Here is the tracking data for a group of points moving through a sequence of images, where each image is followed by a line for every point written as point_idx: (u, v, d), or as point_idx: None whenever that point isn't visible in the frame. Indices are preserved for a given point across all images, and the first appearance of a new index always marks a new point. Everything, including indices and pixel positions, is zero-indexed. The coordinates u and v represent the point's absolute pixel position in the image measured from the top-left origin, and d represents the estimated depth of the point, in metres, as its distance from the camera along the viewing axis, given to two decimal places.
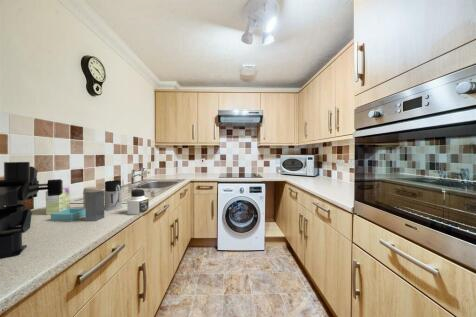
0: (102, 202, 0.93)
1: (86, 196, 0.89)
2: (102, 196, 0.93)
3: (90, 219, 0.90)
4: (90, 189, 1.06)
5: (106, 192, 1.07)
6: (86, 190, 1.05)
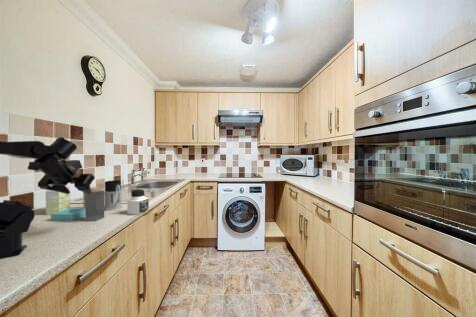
0: (102, 202, 0.93)
1: (86, 196, 0.89)
2: (102, 196, 0.93)
3: (90, 219, 0.90)
4: None
5: (106, 192, 1.07)
6: None
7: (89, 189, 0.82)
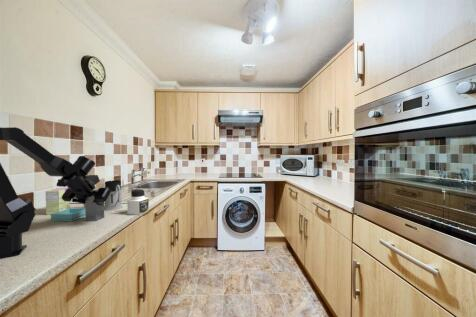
0: None
1: None
2: None
3: (90, 219, 0.90)
4: None
5: None
6: None
7: None
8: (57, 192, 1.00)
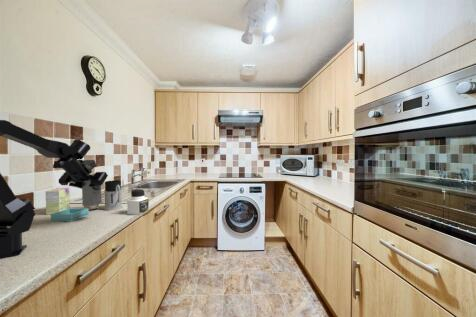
0: None
1: None
2: None
3: (87, 204, 0.90)
4: None
5: (106, 192, 1.07)
6: None
7: (99, 186, 0.92)
8: (57, 192, 1.00)
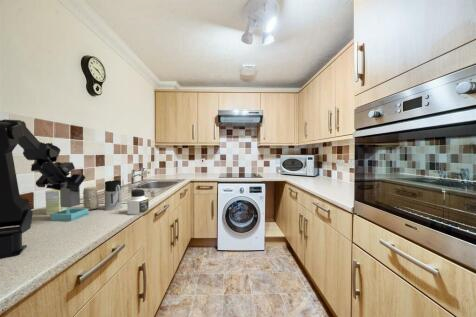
0: None
1: None
2: None
3: (65, 205, 0.92)
4: (90, 189, 1.06)
5: (106, 192, 1.07)
6: (86, 190, 1.05)
7: (77, 188, 0.94)
8: (57, 192, 1.00)
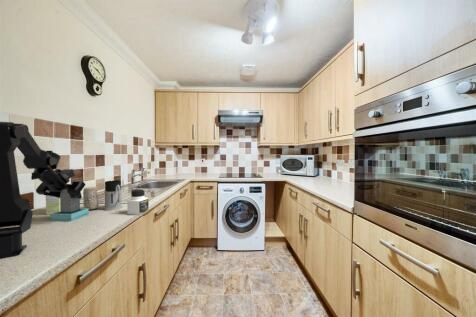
0: (77, 198, 0.95)
1: (61, 193, 0.92)
2: None
3: None
4: (90, 189, 1.06)
5: (106, 192, 1.07)
6: (86, 190, 1.05)
7: (80, 194, 0.94)
8: None
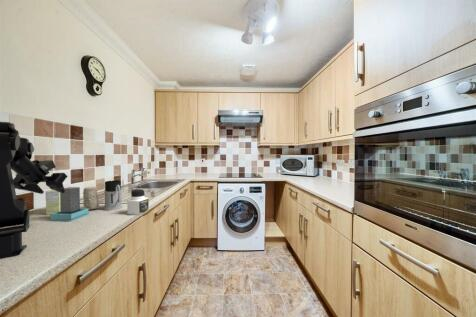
0: (77, 198, 0.95)
1: (61, 193, 0.92)
2: (77, 193, 0.95)
3: None
4: (90, 189, 1.06)
5: (106, 192, 1.07)
6: (86, 190, 1.05)
7: (62, 188, 0.84)
8: (57, 192, 1.00)
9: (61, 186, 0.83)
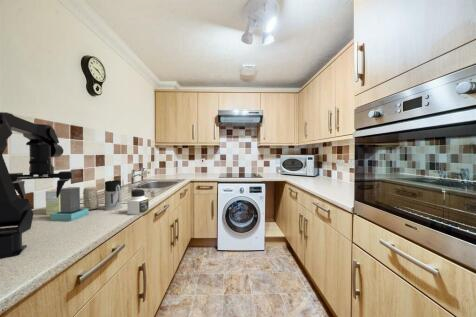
0: (77, 198, 0.95)
1: (61, 193, 0.92)
2: (77, 193, 0.95)
3: None
4: (90, 189, 1.06)
5: (106, 192, 1.07)
6: (86, 190, 1.05)
7: (60, 191, 0.79)
8: None
9: (61, 187, 0.79)
